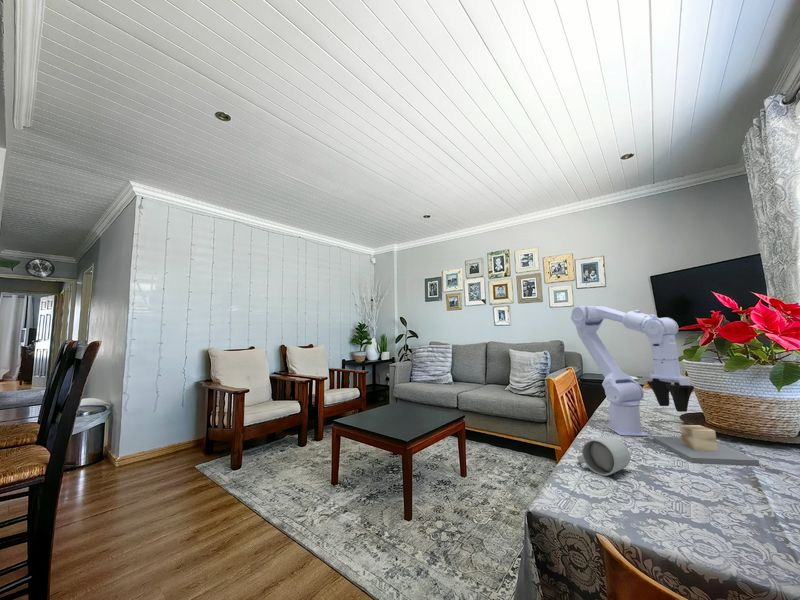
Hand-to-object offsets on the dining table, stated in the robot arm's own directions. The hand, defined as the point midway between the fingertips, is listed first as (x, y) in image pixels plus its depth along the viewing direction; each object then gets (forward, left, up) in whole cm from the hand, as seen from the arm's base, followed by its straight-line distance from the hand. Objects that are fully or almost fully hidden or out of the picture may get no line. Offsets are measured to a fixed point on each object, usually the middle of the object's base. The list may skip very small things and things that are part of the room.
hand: (672, 408), depth 90 cm
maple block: (+3, +3, -9) cm, 10 cm away
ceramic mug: (+17, -26, -11) cm, 33 cm away
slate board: (+3, +4, -10) cm, 12 cm away
